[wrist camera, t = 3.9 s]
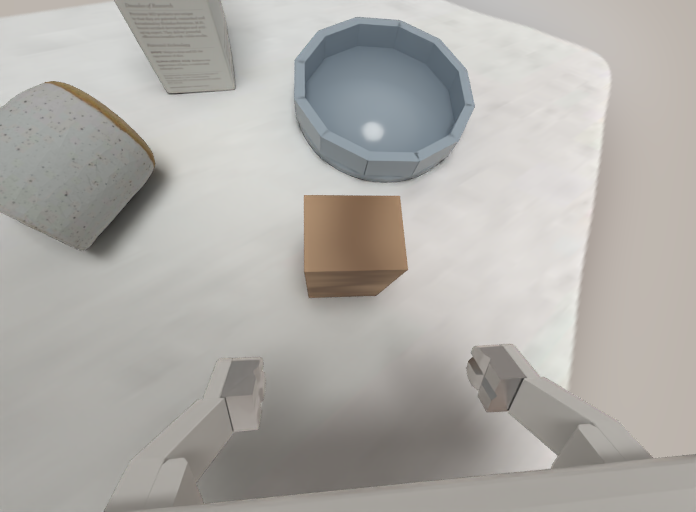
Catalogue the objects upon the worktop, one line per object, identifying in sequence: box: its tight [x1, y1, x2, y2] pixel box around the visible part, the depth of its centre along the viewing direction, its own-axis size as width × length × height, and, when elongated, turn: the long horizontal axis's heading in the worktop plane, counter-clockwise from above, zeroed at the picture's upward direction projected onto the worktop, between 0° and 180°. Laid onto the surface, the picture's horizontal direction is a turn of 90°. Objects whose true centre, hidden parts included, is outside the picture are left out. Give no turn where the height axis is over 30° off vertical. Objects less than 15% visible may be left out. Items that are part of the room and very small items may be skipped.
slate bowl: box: [294, 17, 475, 182], centre depth 25 cm, size 15×15×3 cm
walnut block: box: [304, 195, 408, 298], centre depth 18 cm, size 5×4×8 cm
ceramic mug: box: [0, 81, 155, 251], centre depth 18 cm, size 11×8×8 cm
